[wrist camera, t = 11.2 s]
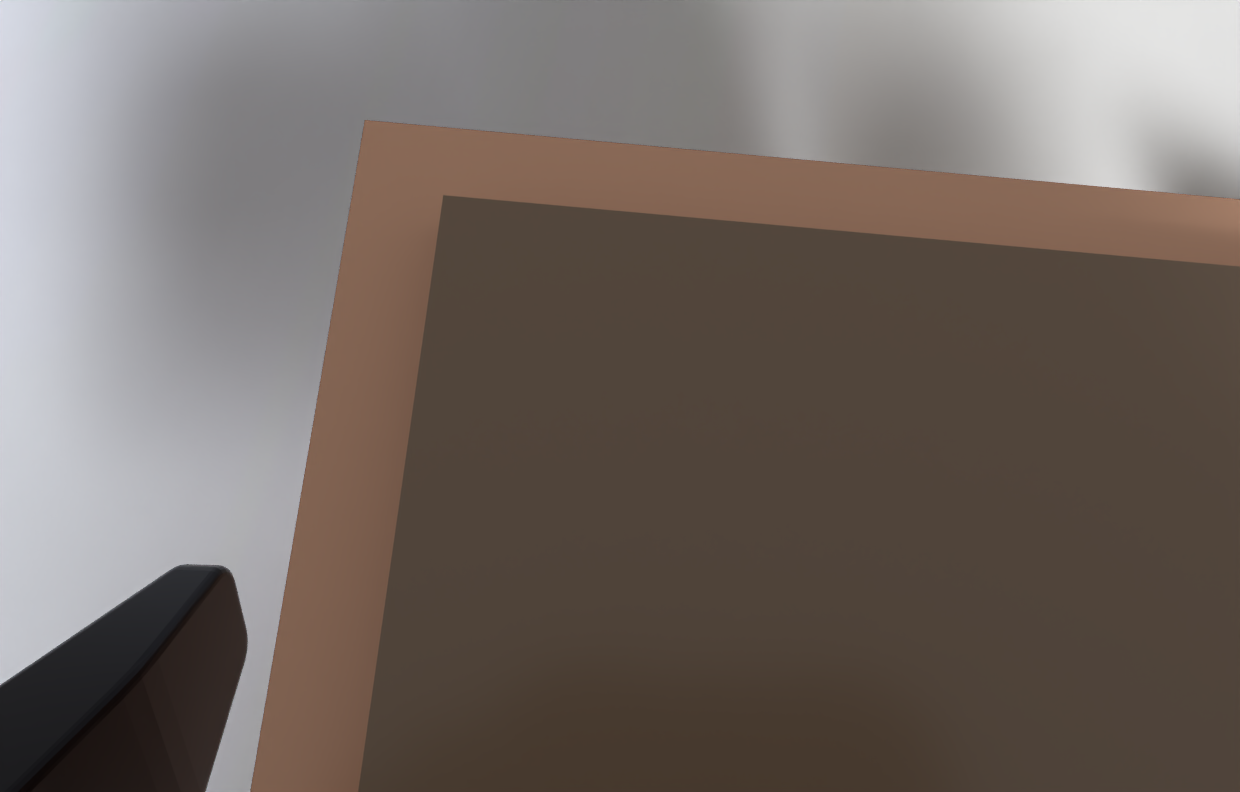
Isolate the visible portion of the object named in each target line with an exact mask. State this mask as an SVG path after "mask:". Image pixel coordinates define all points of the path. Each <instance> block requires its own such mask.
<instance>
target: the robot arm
mask: <svg viewBox="0 0 1240 792" xmlns="http://www.w3.org/2000/svg"><path fill="white" fill-rule="evenodd" d="M247 644H248V638H247V630H246V625H245V621H244V617H243V613H242V609H241V605H240V601H239V596H238V592H237V588H236V584H235V580H234V577H233V575H232V573H231V572H230V570H229V569H227V568H226V567H223V566H219V565H192V564H186V565H180V566H177V567H175V568H173V569H171V570H169V571H168V572H166V573H165V574H163V575H162V576H160V577H159V578H158V579H156V580H155V581H153V582H152V583H150V584H149V585H147V586H146V587H144V588H143V589H141V590H140V591H138V592H137V593H135V594H134V595H132V596H131V597H129V598H128V599H127V600H125V601H124V602H122V603H121V604H119V605H118V606H116V607H115V608H113V609H112V610H110V611H109V612H107V613H106V614H104V615H103V616H101V617H100V618H99V619H97V620H96V621H94V622H93V623H91V624H90V625H88V626H87V627H85V628H84V629H82V630H81V631H79V632H78V633H76V634H75V635H73V636H72V637H70V638H69V639H68V640H66V641H65V642H63V643H62V644H60V645H59V646H57V647H56V648H54V649H53V650H51V651H50V652H48V653H47V654H45V655H44V656H42V657H41V658H40V659H38V660H37V661H35V662H34V663H32V664H31V665H29V666H28V667H26V668H25V669H23V670H22V671H20V672H19V673H17V674H16V675H14V676H13V677H11V678H10V679H9V680H7V681H6V682H4V683H3V684H1V685H0V792H205V791H206V788H207V785H208V781H209V778H210V775H211V771H212V768H213V765H214V761H215V758H216V755H217V752H218V748H219V745H220V742H221V738H222V735H223V732H224V728H225V725H226V722H227V719H228V715H229V712H230V709H231V705H232V702H233V699H234V695H235V692H236V689H237V686H238V682H239V679H240V676H241V672H242V669H243V666H244V662H245V658H246V653H247Z"/></svg>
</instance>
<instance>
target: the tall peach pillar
mask: <svg viewBox="0 0 1240 792" xmlns="http://www.w3.org/2000/svg"><path fill="white" fill-rule="evenodd" d="M250 792H1240V199H1231V198H1220V197H1209V196H1197V195H1186V194H1175V193H1164V192H1153V191H1142V190H1131V189H1120V188H1109V187H1098V186H1087V185H1076V184H1065V183H1054V182H1043V181H1032V180H1021V179H1010V178H999V177H988V176H977V175H966V174H955V173H944V172H933V171H921V170H910V169H899V168H888V167H877V166H866V165H855V164H844V163H833V162H822V161H811V160H800V159H789V158H778V157H767V156H756V155H745V154H734V153H723V152H712V151H701V150H690V149H679V148H668V147H657V146H645V145H634V144H623V143H612V142H601V141H590V140H579V139H568V138H557V137H546V136H535V135H524V134H513V133H502V132H491V131H480V130H469V129H458V128H447V127H436V126H425V125H414V124H403V123H391V122H380V121H369V120H365V122H364V128H363V134H362V140H361V146H360V152H359V157H358V163H357V169H356V175H355V181H354V187H353V193H352V199H351V204H350V210H349V216H348V222H347V228H346V234H345V240H344V245H343V251H342V257H341V263H340V269H339V275H338V281H337V287H336V292H335V298H334V304H333V310H332V316H331V322H330V328H329V333H328V339H327V345H326V351H325V357H324V363H323V369H322V375H321V380H320V386H319V392H318V398H317V404H316V410H315V416H314V421H313V427H312V433H311V439H310V445H309V451H308V457H307V463H306V468H305V474H304V480H303V486H302V492H301V498H300V504H299V509H298V515H297V521H296V527H295V533H294V539H293V545H292V551H291V556H290V562H289V568H288V574H287V580H286V586H285V592H284V597H283V603H282V609H281V615H280V621H279V627H278V633H277V638H276V644H275V650H274V656H273V662H272V668H271V674H270V680H269V685H268V691H267V697H266V703H265V709H264V715H263V721H262V726H261V732H260V738H259V744H258V750H257V756H256V762H255V768H254V773H253V779H252V785H251V791H250Z"/></svg>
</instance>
